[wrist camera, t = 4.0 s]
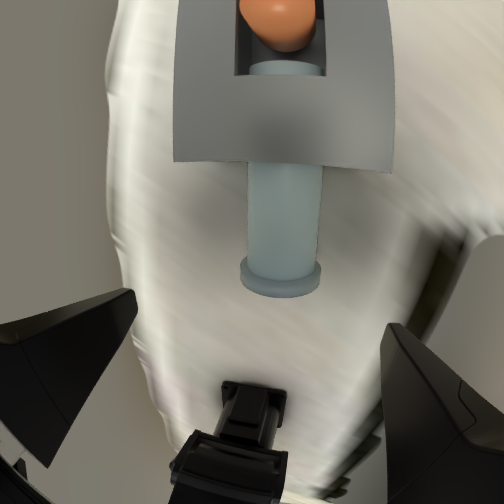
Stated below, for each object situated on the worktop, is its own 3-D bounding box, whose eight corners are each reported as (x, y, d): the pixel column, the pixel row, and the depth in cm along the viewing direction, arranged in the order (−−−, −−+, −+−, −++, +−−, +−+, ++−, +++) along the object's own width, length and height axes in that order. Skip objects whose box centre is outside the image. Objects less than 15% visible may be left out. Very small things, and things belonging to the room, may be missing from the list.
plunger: (316, 53, 11) (316, 31, 9) (254, 52, 12) (238, 32, 9) (314, 4, 10) (312, -24, 7) (255, 5, 11) (240, -21, 8)
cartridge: (319, 264, 19) (319, 302, 15) (250, 257, 20) (230, 292, 16) (330, 81, 14) (334, 60, 10) (252, 79, 15) (229, 60, 11)
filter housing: (368, 163, 16) (391, 173, 11) (215, 154, 18) (173, 162, 13) (367, 22, 12) (383, -20, 7) (218, 21, 14) (180, -14, 9)
